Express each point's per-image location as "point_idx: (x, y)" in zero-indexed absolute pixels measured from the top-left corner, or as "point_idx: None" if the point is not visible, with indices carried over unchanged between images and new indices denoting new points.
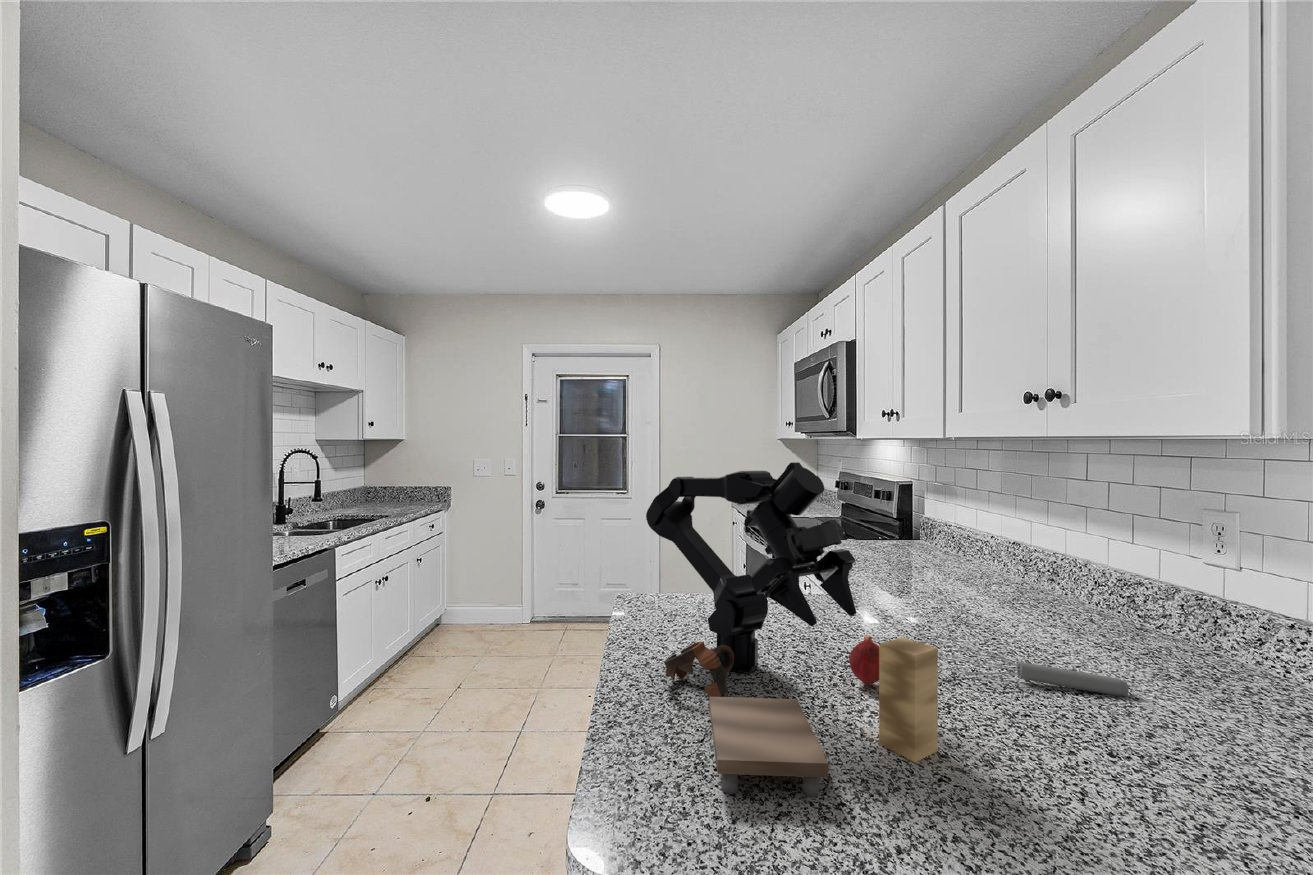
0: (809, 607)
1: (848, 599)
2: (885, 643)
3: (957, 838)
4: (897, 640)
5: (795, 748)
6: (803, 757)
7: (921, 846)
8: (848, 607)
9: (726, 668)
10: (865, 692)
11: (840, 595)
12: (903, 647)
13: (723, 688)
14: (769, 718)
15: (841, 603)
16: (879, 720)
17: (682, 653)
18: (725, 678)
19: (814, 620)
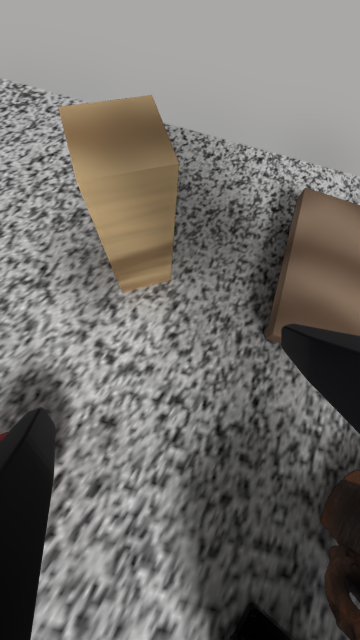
0: (339, 341)
1: (11, 464)
2: (160, 161)
3: (206, 155)
4: (111, 166)
5: (329, 219)
6: (327, 203)
7: (240, 157)
8: (38, 449)
9: (342, 566)
10: (63, 434)
11: (6, 551)
12: (138, 130)
13: (344, 492)
14: (338, 289)
15: (37, 508)
16: (171, 264)
17: None
18: (343, 523)
19: (297, 324)
